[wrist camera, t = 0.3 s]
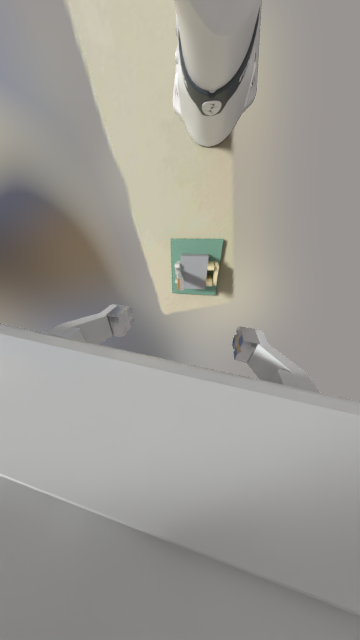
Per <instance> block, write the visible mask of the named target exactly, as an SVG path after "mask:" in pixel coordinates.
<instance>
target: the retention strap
mask: <svg viewBox="0 0 360 640" xmlns="http://www.w3.org/2000/svg"><path fill="white" fill-rule="evenodd" d="M175 279H177V289H178V290H184V279H183V277H182V275H181V272H180V268H175Z"/></svg>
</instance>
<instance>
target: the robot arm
mask: <svg viewBox="0 0 360 640" xmlns="http://www.w3.org/2000/svg"><path fill="white" fill-rule="evenodd" d="M261 2H262V0H174V5H175V10H176V35H177V37H179V40H178V49H176V53H175V61H176V72H175V83H174V93H173V108H174V111H175V112H176V114H177V115H178V116H179V117H180V118H181V119H182V120H183V121H184V124H185V126H186V128H187V131H188V133H189V135H190V136H191V137H192V139H193V140H194V141H195V142H196V143H198V144H199V145H202V146H206V147H210V146H214V145H217V144H219V143H220V142H222V141H223V140H224V139H225V138H226V137H227V136H228V135H229V134H230V133H231V131H232V130H233V128H234V127H235V125H236V123H237V121H238V119H239V118H240V116H241V114H242V113H243V112H244V111H245V110H246V109H247V108H248V107H249V106H250V105H251V103H252V102H253V100H254V98H255V95H256V90H257V72H258V55H259V54H258V53H259V37H260V19H261ZM251 84H252V87H251ZM177 94H178V96H177ZM131 314H132V308H131V307H126V306H120V305H115V304H111V305H110V306H109V307H108V308H106V309H105V310H104V311H102V312H101V313H100V314H95V315H91V316H88V317H84V318H81V319H77V320H74V321H70V322H67V323H63V324H60V325H59V326H57V327H56V328H54V329H53V330H51V331H50V332H48V333H42V332H37V331H33V330H28V329H24V328H19V327H15V326H10V325H5V324H1V323H0V640H360V401H356V400H351V399H346V398H341V397H337V396H332V395H328V394H323V393H320V392H319V391H318V389H317V388H316V386H315V384H314V383H313V381H312V380H311V378H310V377H309V375H308V374H307V373H306V372H304V371H303V370H302V369H300V368H299V367H298V366H296V365H295V364H294V363H293V362H291V361H290V360H289V359H287V358H286V357H285V356H284V355H282V354H281V353H280V352H279V351H277V350H276V349H275V348H273V347H272V346H269V344H268V342H267V340H266V337H265V335H264V333H263V331H262V330H260V329H252V328H245V327H238V328H237V331H236V332H237V334H236V335H235V336H234V338H233V342H232V343H233V344H232V346H233V349H234V359H235V360H237V361H242V362H246V363H247V364H248V365H249V366H250V368H251V369H252V370H253V372H254V373H255V374H256V375H257V377H258V378H259V379H260V380H258V379H254V378H249V377H245V376H240V375H235V374H231V373H226V372H222V371H217V370H213V369H208V368H203V367H199V366H194V365H190V364H185V363H181V362H176V361H171V360H167V359H162V358H157V357H153V356H148V355H143V354H139V353H134V352H130V351H125V350H120V349H116V348H111V347H107V346H102V345H97V344H99V343H100V342H103V341H104V340H106V339H108V338H110V337H111V336H113V335H114V336H120V337H124V336H125V334H126V333H127V329H130V328H131V327H132V325H133V322H134V319H133V316H132V315H131Z"/></svg>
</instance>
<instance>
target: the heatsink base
mask: <svg viewBox="0 0 360 640" xmlns="http://www.w3.org/2000/svg"><path fill="white" fill-rule="evenodd" d="M222 246H223V239H171V267H172V293H182V294H200V295H215V293H216V286H217V280H218V273H219V266H220V259H221V253H222ZM175 268H180V272H181V275H182V277H183V279H184V290H178V289H177V279H175Z"/></svg>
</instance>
